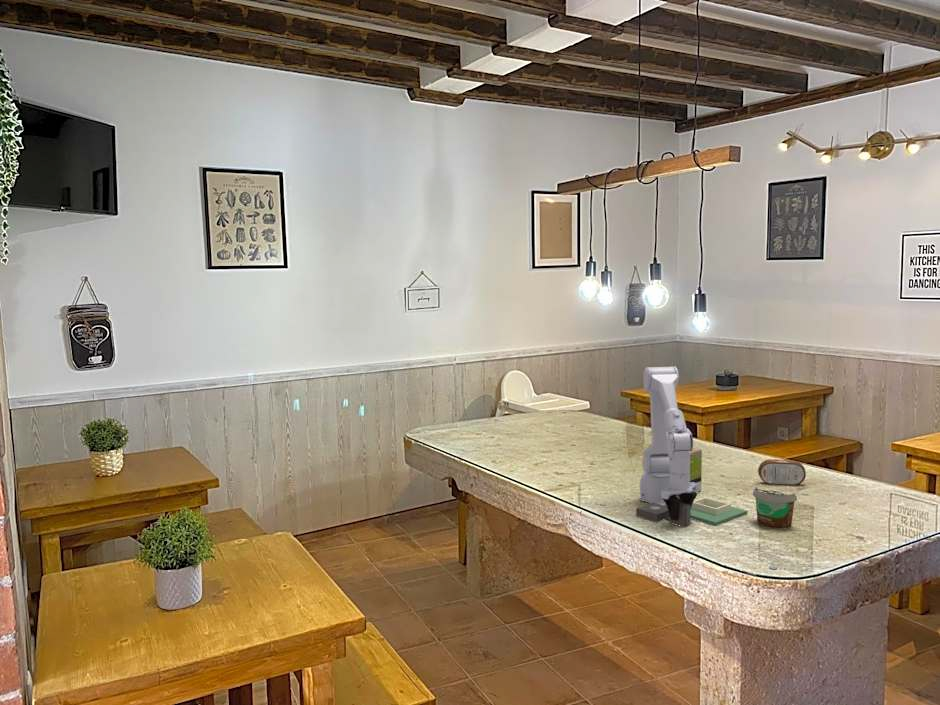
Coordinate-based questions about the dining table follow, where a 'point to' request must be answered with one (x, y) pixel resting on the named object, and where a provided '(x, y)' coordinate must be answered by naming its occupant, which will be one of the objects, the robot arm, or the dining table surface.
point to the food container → (774, 508)
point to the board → (714, 511)
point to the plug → (683, 515)
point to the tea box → (695, 467)
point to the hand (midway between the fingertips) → (679, 517)
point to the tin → (782, 472)
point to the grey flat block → (653, 512)
